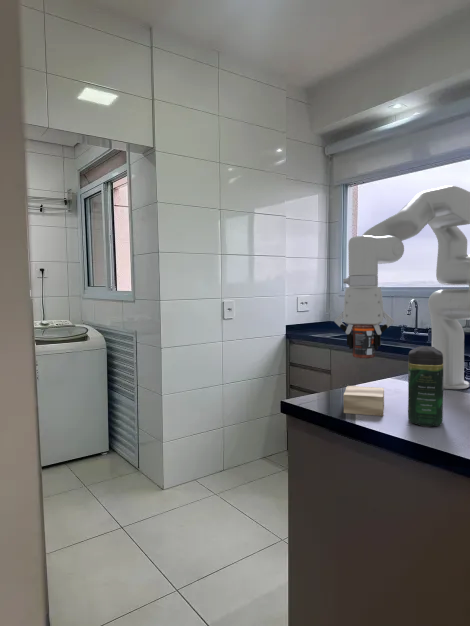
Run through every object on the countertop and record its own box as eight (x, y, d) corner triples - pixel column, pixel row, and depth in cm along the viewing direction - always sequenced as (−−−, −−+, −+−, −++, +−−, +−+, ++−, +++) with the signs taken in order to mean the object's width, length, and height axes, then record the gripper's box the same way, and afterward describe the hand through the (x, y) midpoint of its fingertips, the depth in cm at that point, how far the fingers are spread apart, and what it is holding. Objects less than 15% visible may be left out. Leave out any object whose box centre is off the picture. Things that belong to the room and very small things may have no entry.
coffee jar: (444, 429, 98) (444, 350, 97) (407, 425, 101) (407, 349, 100) (442, 417, 107) (442, 344, 105) (409, 414, 110) (408, 343, 109)
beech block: (347, 402, 122) (347, 385, 121) (384, 405, 118) (384, 387, 118) (343, 412, 112) (343, 394, 112) (383, 416, 109) (383, 397, 108)
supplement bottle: (376, 359, 111) (376, 316, 110) (353, 359, 112) (352, 316, 111) (373, 355, 117) (373, 315, 116) (351, 355, 118) (351, 315, 117)
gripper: (328, 283, 113) (329, 349, 114) (397, 281, 106) (397, 351, 107) (332, 283, 119) (333, 345, 121) (397, 281, 113) (397, 347, 114)
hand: (363, 347), depth 114 cm, fingers closed on supplement bottle, 6 cm apart
